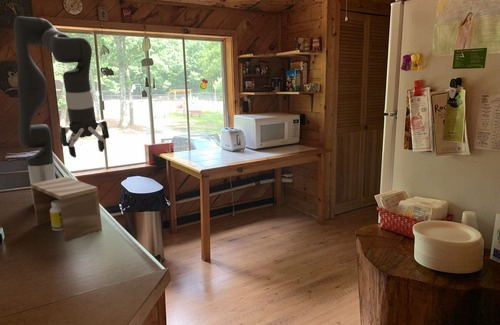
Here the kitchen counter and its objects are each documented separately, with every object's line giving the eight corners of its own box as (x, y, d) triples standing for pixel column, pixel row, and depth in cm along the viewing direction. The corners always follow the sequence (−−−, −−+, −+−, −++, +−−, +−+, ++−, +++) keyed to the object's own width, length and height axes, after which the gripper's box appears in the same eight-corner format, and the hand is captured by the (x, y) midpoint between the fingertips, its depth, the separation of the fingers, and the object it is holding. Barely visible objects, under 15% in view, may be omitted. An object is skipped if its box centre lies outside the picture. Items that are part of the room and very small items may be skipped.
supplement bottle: (62, 231, 121) (58, 204, 119) (48, 230, 123) (44, 203, 120) (73, 225, 127) (69, 199, 125) (59, 224, 128) (56, 198, 126)
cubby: (37, 224, 128) (30, 183, 124) (70, 215, 137) (65, 176, 134) (66, 241, 114) (60, 196, 110) (102, 229, 123) (97, 187, 119)
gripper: (99, 100, 118) (105, 146, 124) (52, 105, 109) (61, 155, 115) (107, 104, 113) (113, 152, 119) (58, 111, 104) (67, 162, 110)
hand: (87, 153), depth 117 cm, fingers open, 8 cm apart
